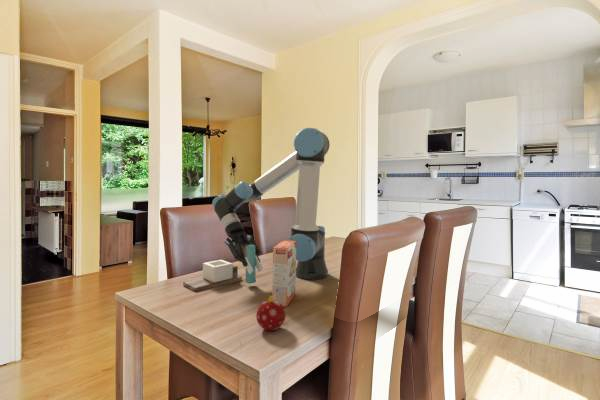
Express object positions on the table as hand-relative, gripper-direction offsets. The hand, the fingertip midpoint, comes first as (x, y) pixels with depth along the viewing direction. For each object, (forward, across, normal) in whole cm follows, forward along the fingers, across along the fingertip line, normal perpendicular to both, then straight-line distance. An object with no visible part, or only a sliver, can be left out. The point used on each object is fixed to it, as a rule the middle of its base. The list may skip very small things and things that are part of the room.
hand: (256, 271), depth 138 cm
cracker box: (+17, 0, +7) cm, 19 cm away
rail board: (-8, +9, -17) cm, 21 cm away
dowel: (+1, 0, -6) cm, 6 cm away
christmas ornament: (+28, +19, +17) cm, 38 cm away
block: (-9, +7, -16) cm, 20 cm away
